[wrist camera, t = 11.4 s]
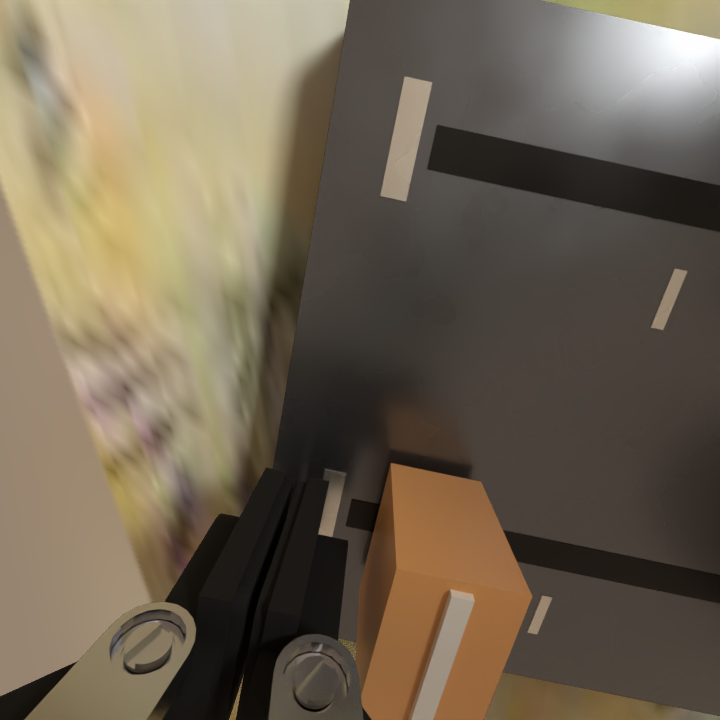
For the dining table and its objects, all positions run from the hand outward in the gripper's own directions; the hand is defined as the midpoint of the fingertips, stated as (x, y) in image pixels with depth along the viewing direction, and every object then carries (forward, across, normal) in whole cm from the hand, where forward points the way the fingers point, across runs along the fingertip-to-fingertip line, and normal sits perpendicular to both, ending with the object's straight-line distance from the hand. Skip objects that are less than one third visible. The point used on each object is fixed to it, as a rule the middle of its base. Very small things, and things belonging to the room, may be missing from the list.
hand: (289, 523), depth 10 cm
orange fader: (+1, -3, 0) cm, 3 cm away
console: (+3, -8, -4) cm, 9 cm away
